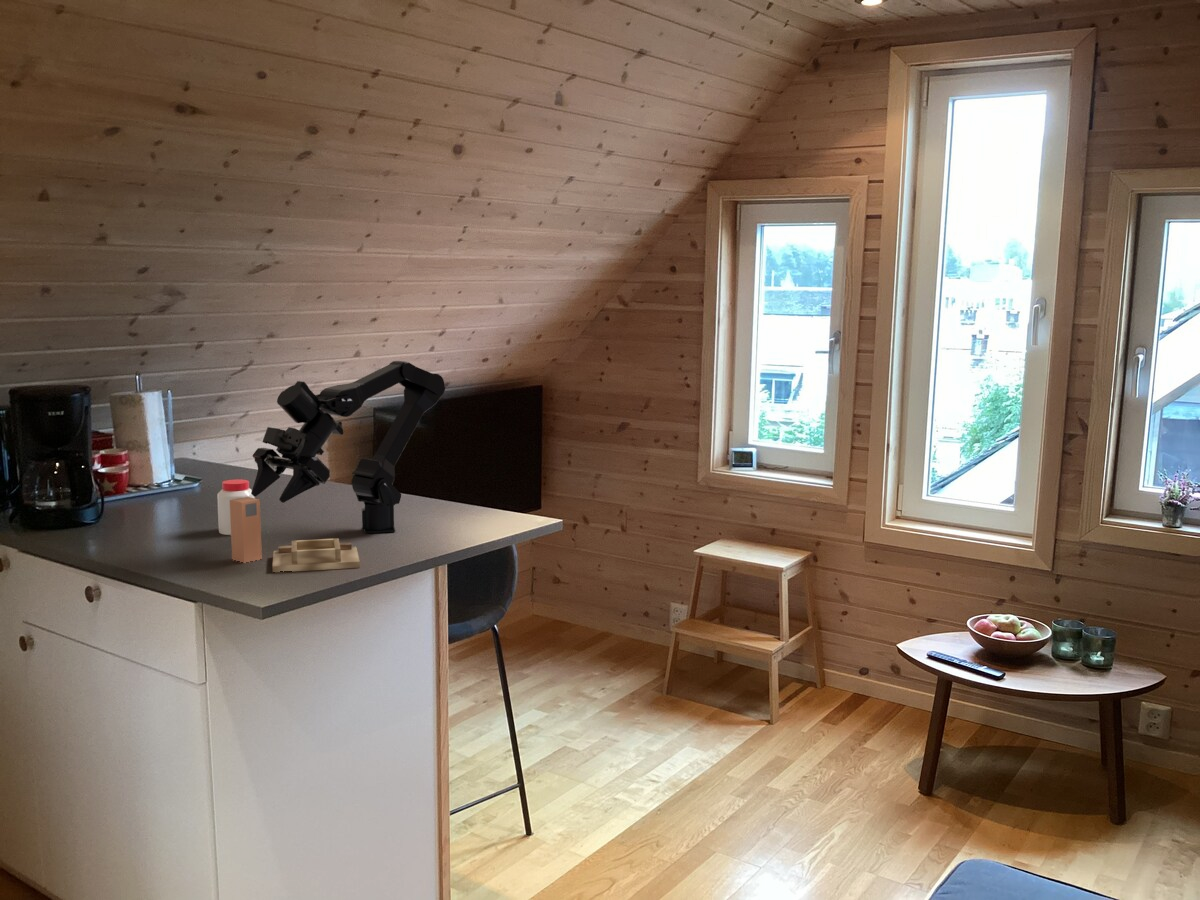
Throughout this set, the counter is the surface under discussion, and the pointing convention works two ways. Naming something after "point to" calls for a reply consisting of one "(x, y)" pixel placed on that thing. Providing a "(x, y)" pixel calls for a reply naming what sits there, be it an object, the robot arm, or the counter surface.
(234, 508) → the block
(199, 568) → the counter surface
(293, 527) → the counter surface
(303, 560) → the jig
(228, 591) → the counter surface
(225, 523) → the pill bottle
